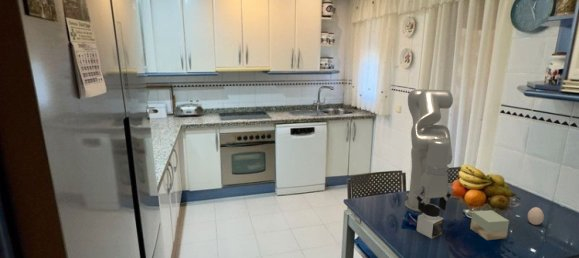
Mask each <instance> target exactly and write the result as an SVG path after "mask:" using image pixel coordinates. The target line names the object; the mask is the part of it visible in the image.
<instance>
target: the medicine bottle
mask: <svg viewBox="0 0 579 258" xmlns="http://www.w3.org/2000/svg"><path fill="white" fill-rule="evenodd" d="M440 213H441V208H440V207H439V205H436V204H434V203H430V204H425V209H424V212H422V213H421V214H419V215H418V216H417V225H416V232H417V233H420V234H421V235H423V236H426V237H428V238H429V239H434V238H436V237H438V236H440V235H442V234H443V225H444V217H442V216H440Z"/></svg>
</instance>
